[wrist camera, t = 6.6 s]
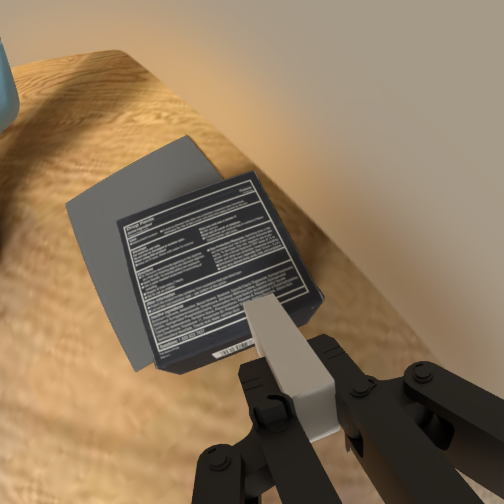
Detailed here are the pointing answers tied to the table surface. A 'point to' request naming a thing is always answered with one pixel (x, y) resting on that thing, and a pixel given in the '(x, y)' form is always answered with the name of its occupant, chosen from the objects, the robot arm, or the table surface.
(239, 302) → the small box
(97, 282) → the mat
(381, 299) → the table surface
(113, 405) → the table surface
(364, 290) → the table surface
